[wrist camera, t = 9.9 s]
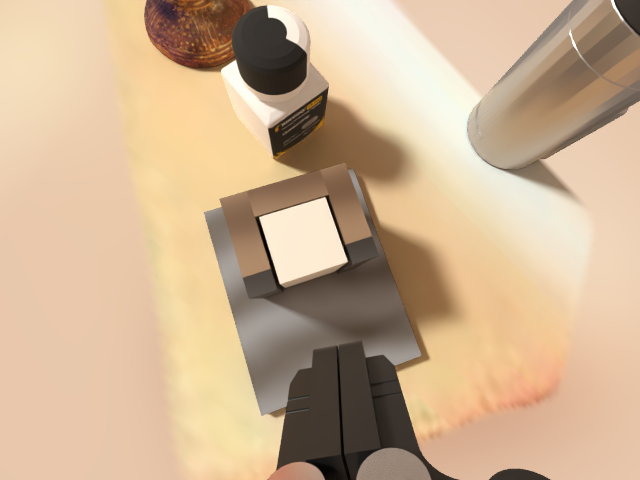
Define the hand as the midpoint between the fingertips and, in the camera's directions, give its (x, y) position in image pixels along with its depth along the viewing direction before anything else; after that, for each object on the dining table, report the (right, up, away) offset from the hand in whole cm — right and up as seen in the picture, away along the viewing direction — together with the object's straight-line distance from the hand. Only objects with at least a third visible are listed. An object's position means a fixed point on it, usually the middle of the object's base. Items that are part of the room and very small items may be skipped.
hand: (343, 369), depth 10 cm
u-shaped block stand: (-2, 0, +23) cm, 23 cm away
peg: (-2, +2, +22) cm, 22 cm away
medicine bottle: (-5, +17, +26) cm, 32 cm away
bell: (-14, +29, +28) cm, 43 cm away
